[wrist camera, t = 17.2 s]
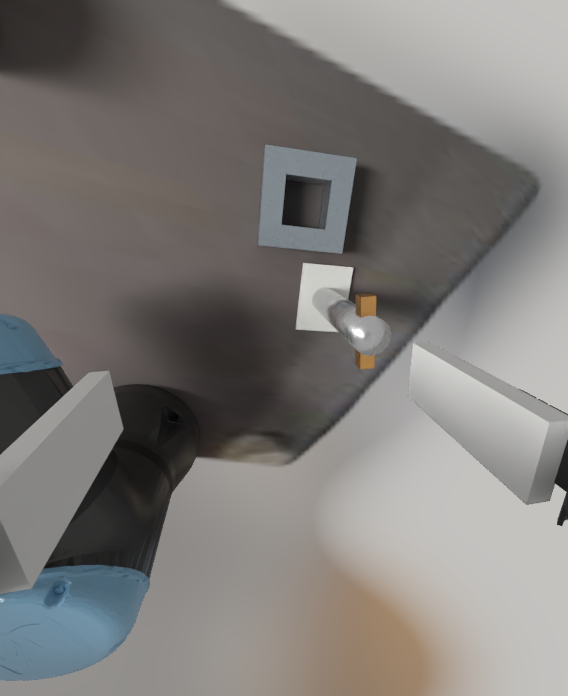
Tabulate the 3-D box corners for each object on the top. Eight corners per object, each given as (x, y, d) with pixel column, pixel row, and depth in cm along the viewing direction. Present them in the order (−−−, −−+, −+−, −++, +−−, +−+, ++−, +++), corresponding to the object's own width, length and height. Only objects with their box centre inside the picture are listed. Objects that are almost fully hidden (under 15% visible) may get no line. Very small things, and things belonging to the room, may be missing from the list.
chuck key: (312, 325, 39) (353, 375, 25) (310, 275, 37) (353, 300, 23) (336, 322, 39) (389, 371, 25) (335, 273, 37) (393, 296, 23)
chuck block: (334, 252, 37) (342, 253, 34) (256, 244, 35) (258, 245, 32) (346, 165, 34) (356, 158, 31) (263, 153, 32) (265, 144, 29)
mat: (341, 331, 40) (342, 332, 40) (295, 328, 39) (295, 329, 39) (352, 267, 38) (353, 267, 37) (303, 262, 37) (303, 262, 36)
